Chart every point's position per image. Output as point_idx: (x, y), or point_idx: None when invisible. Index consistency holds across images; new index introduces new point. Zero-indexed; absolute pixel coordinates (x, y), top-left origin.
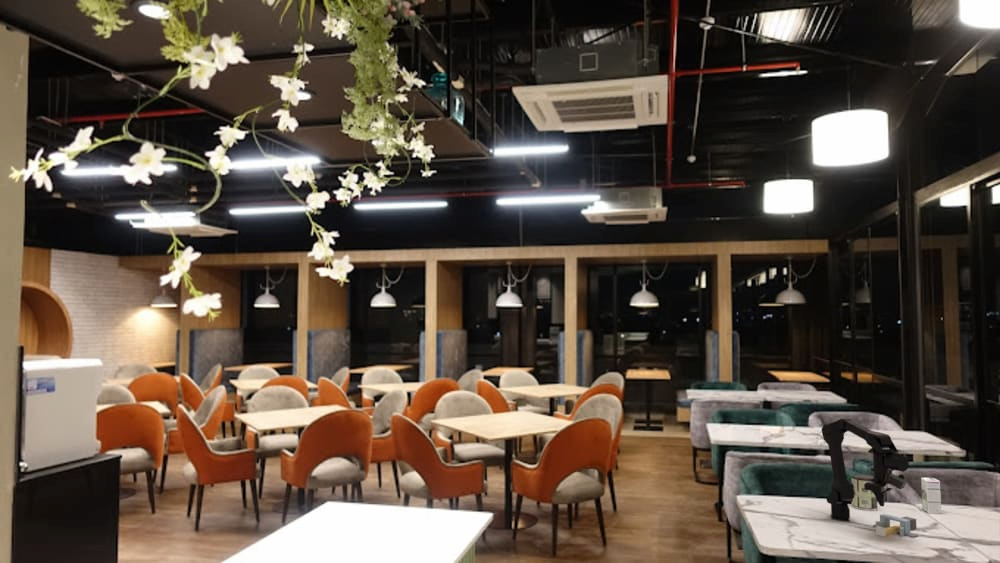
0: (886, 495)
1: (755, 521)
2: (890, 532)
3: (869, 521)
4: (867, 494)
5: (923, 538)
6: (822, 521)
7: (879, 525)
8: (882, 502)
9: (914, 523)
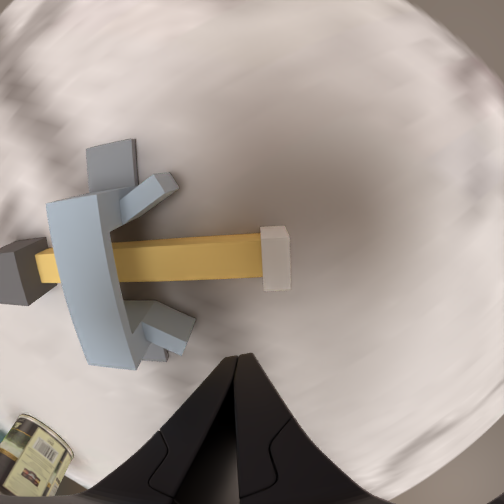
0: (147, 462)
1: (460, 452)
2: (198, 239)
3: (123, 394)
4: (30, 463)
5: (99, 113)
6: None
7: (178, 326)
8: (270, 386)
9: (7, 247)
